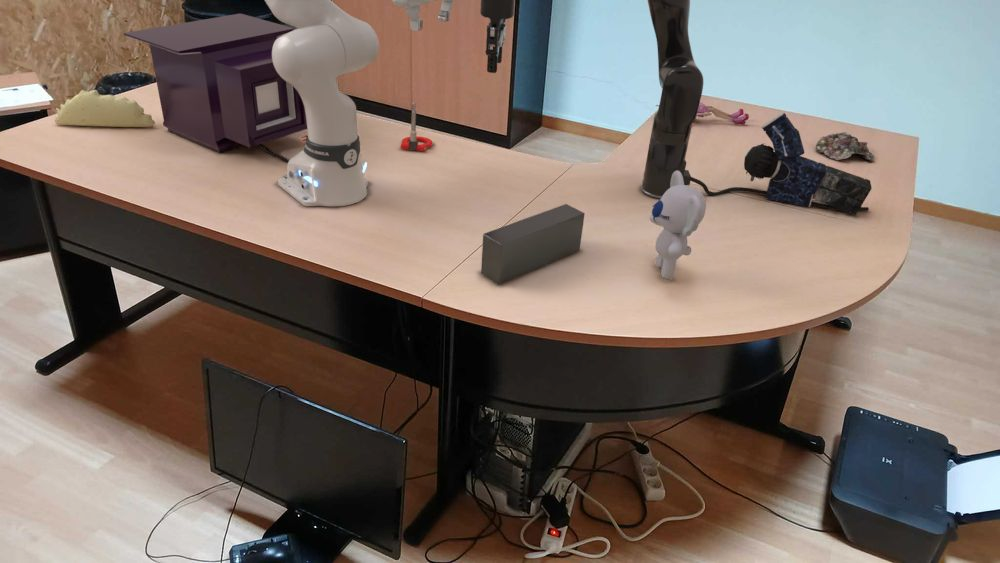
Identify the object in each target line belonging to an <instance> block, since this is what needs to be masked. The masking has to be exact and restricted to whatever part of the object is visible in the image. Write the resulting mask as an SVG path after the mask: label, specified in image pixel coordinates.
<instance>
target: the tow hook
mask: <svg viewBox="0 0 1000 563" xmlns="http://www.w3.org/2000/svg"><path fill="white" fill-rule="evenodd" d="M410 119H411V122H410V123H411V124H410V125H411V126H410V133H409V136H406V137H404V138H402V139H401V144H400V148H401V149H404V150H408V151H421V152H426V150H427V149H428V148H430V147H433V140H432V139H430V138H429V137H425V136H418V135H417V110H416V102H412V110H411V118H410ZM419 142H424V143H419Z"/></svg>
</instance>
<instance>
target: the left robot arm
mask: <svg viewBox="0 0 1000 563" xmlns="http://www.w3.org/2000/svg"><path fill="white" fill-rule="evenodd" d="M391 1H392V4H393V5H394V6H396V7H399V8H405V12H406V15H407V17H408V19H409V28H410V30H411V31H413V32H419V31H421V30H423V28H424V25H423V24H424V19H421V16H420V13H419V12H420V11H421V6H422V5H426V4H429V3H433V2H436V1H437V0H391ZM264 2H265V4H266V5H267V7H268V9H269V10H270V11H271V13H272V15H273V16H274V17H275V18H276V19H277V20H278V21H280V22H282V23H283V24H285V25H288V26H290V27H293V28H294V30H293V31H291V32H289V33H287V34H285V35H282V36H279V37H277V39H276V41H275V42H274V44H273V48H272V61H273V65H274V67H275V69H276V71H277V73H278V74H279V75H280V76H281V78H283V79H284V80H285V81H286V82H288V83H290V84H291V85H292V86H293V87H294V88H295V89H296V90H297V91H298V93H299V95H300V96H301V99H302V101H303V104H304V108H305V114H306V121H307V129H306V131H307V134H305V135H302V136H300V138H301V140H300V141H301V142H304V146H303V149H302V150H301V151H300V152H298V153H296V154H295V155H294V156H292V157H291V158H290V159H288V158H286V157H285V156H283V155H280V154H279V153H277V152H274V151H272V149H269V148H268V147H267V146H265V145H264V144H263V143H262V144H259V145H258V146H259V147H260V148H262V149H263V150H264V151H266V152H267V153H269V154H270V155H272V156H274V157H277V158H278V159H280V160H282V161H284V162H285V163H287V166H286V174H284V175H283V176H281V177H280V178H279V179H277V185H278V186H279V187H280V188H281V189H283V190H284V191H285V192H286V193H287V194H288V195H290V196H291V197H292V198H294V199H295V200H296V201H297V202H299V203H300V204H301V205H302V206H304V207H319V206H321V207H345V206H349V205H355V204H357V203H360V202H361V201H362V200H364V199H365V198H366V197H367V195H368V190H367V186H368V185H369V181H368V179H367V178H366V177H365V171H366V169H367V165H368V162H365V163H363V157H362V156H363V155H362V154H361V138H360V136H359V135H358V116H357V115H358V114H357V105H356V103H355V102H354V101H353V99H352V98H351V97H350V96H349V95H347V94H345V93H343V92H341V91H340V89H339V85H338V77H340V76H341V77H342V76H344V75H347V74H352V73H356V72H360V71H361V70H362V69H364V68H366V67H368V66H369V65H371V64H373V63H374V62H375V61H376V60H377V58H378V55H379V53H380V52H379V50H380V42H379V38H378V35H377V33H376V31H375V30H374V28H373V27H372V26H371V25H370V24H369V23H368V22H367V21H364V20H362V19H359V18H356V17H355V16H352V15H351V14H349V13H347V12H346V11H345V10H343V9H342V8H340V7H339V6H338V5H337V4H336V3H335V2H334V1H332V0H264ZM454 3H455V0H441V6H440V10H438V12H437V20H438V22H442V23H446V22H449V21H450V20H451V11H452V10H453V6H454Z"/></svg>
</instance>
